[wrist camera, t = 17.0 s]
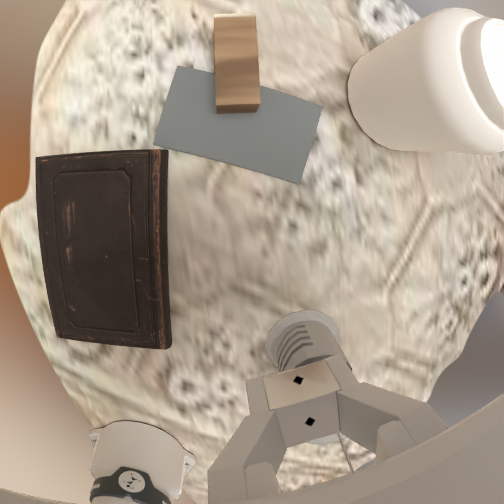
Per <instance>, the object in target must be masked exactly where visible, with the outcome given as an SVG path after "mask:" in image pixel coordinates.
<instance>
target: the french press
mask: <svg viewBox="0 0 504 504" xmlns="http://www.w3.org/2000/svg"><path fill="white" fill-rule="evenodd" d="M338 342H339V331H338V327H337V325H336V324H335V322H334V321H333V319H332V318H331V317H329V316H327V315H326V314H324V313H322V312H320V311H312V310H303V311H299V312H295V313H290V314H289V315H287V316H286V317H284V318H283V319H281V320H279V321H278V322H277V323H276V324H275V325H274V327H273V328H272V329H271V331H270V332H269V333H268V337H267V341H266V345H265V348H266V352H267V357H268V359H269V360H270V361H271V362H272V363H273V364H274V366H275V367H277V368H278V369H279V372H282V371H286V370H290V369H294V368H298V367H301V366H304V365H308V364H311V363H314V362H318V361H321V360H324V359H325V358H328V357H331V356H334V355H337V354H340V355H341V356H342V357H343V359H344V360H345V361H346V363H347V365H348V366H349V368H350V370H351V371H352V368H351V366H350V364H349V362H348V360H347V358H346V357H345V355H344V353H343V351H342V350H341V348H340V346H339V344H338ZM344 438H347V437H346V436H344V435H343V434H341V432H339V433H335V434H332V435H329V436H325V437H322V438H318V439H315V440H311V441H308V442H306V443H309V444H328V443H331V442H335V441H338V440H340V443H341V445H342V448H343V451H344V453H345V456H346V459H347V461H348V464H349V467H350V469H351V472H352V473H353V472H354V470H353V467H352V465H351V462H350V459H349V457H348V454H347V452H346V449H345V447H344V444H343V441H342V439H344Z"/></svg>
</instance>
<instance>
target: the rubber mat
mask: <svg viewBox="0 0 504 504" xmlns="http://www.w3.org/2000/svg"><path fill="white" fill-rule="evenodd" d="M260 102H261V104H260V106H259V108H258V110H257V111H256V112H251V113H224V114H217V111H216V87H215V74H214V73H210V72H206V71H201V70H196V69H192V68H187V67H181V66H178V67H177V69H176V72H175V75H174V78H173V81H172V84H171V87H170V90H169V93H168V96H167V99H166V102H165V105H164V109H163V112H162V115H161V119H160V122H159V125H158V129H157V132H156V136H155V139H154V143H153V145H156V146H161V147H165V148H169V149H174V150H178V151H182V152H186V153H190V154H194V155H198V156H202V157H206V158H210V159H214V160H218V161H221V162H225V163H229V164H232V165H236V166H240V167H243V168H247V169H250V170H254V171H257V172H261V173H264V174H267V175H271V176H274V177H277V178H281V179H284V180H287V181H290V182H294V183H297V184H300V181H301V178H302V175H303V171H304V168H305V165H306V161H307V158H308V155H309V152H310V148H311V145H312V142H313V138H314V135H315V132H316V128H317V125H318V122H319V118H320V115H321V111H322V108H323V106H320V105H317V104H315V103H312V102H309V101H306V100H304V99H301V98H298V97H295V96H292V95H289V94H286V93H283V92H280V91H276V90H273V89H270V88H267V87H263V86H260Z"/></svg>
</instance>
